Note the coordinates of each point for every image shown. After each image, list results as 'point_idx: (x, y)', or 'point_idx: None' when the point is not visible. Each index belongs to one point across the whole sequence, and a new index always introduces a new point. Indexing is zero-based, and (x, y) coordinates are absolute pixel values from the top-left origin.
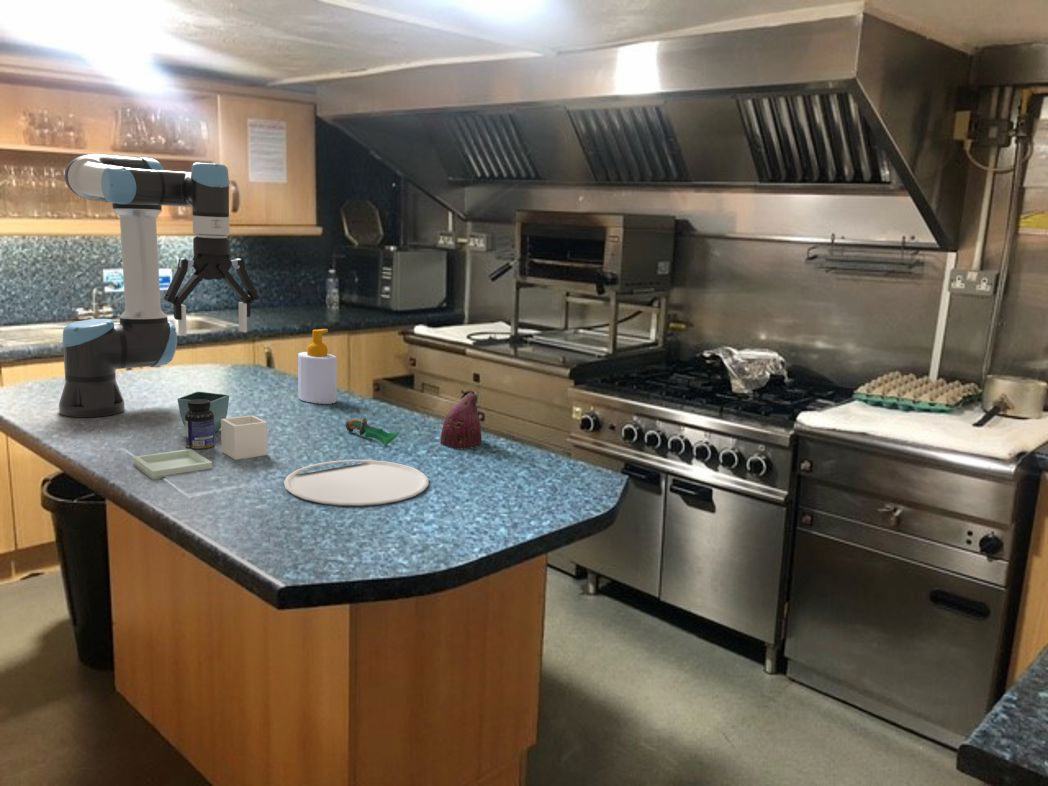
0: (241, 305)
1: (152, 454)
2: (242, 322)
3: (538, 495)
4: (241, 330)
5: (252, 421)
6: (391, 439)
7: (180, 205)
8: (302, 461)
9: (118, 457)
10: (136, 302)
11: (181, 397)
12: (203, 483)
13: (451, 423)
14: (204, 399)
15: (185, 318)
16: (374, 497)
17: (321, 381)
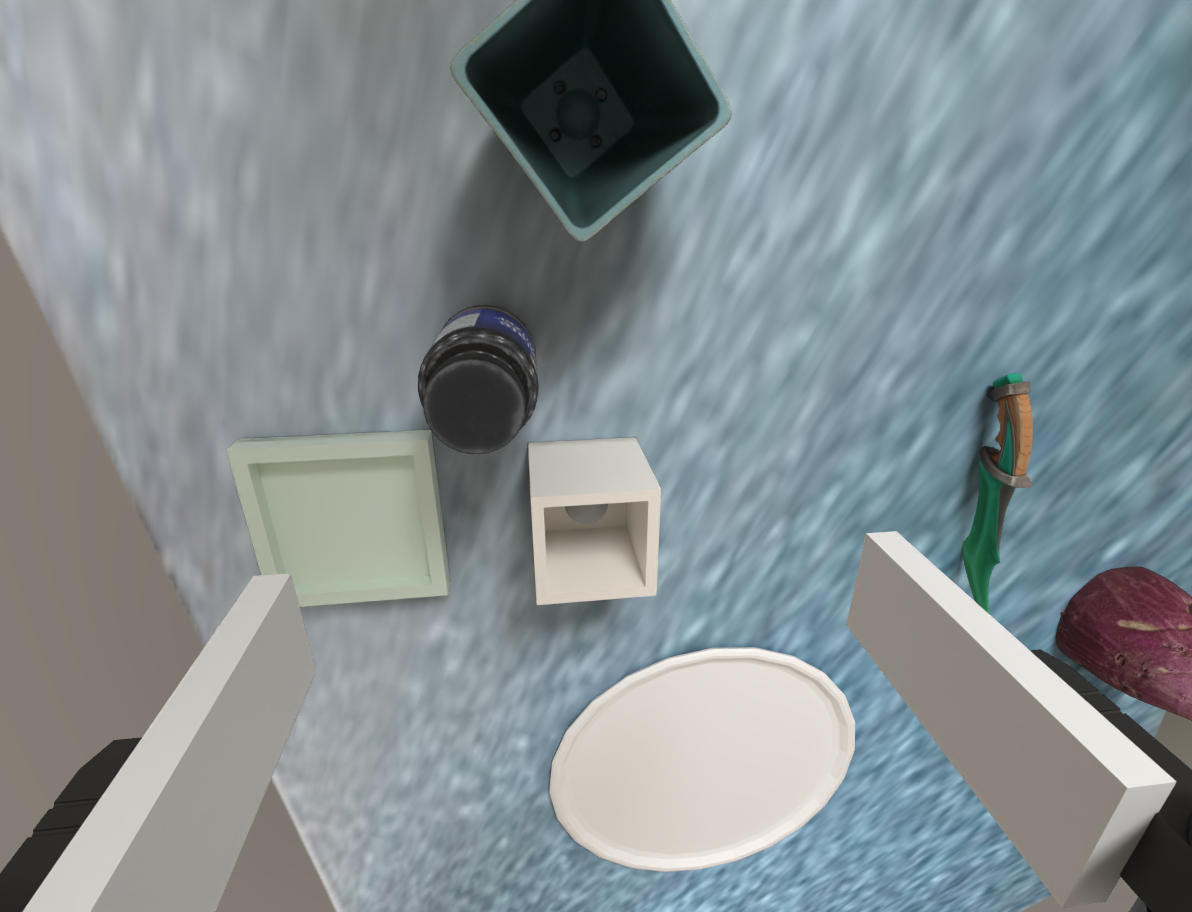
0: (1054, 830)
1: (292, 451)
2: (901, 669)
3: (911, 894)
4: (860, 589)
5: (644, 501)
6: (972, 589)
7: None
8: (693, 596)
9: (192, 326)
10: None
11: (479, 43)
12: (400, 658)
13: (1123, 673)
14: (510, 381)
15: (241, 830)
16: (680, 835)
17: None
